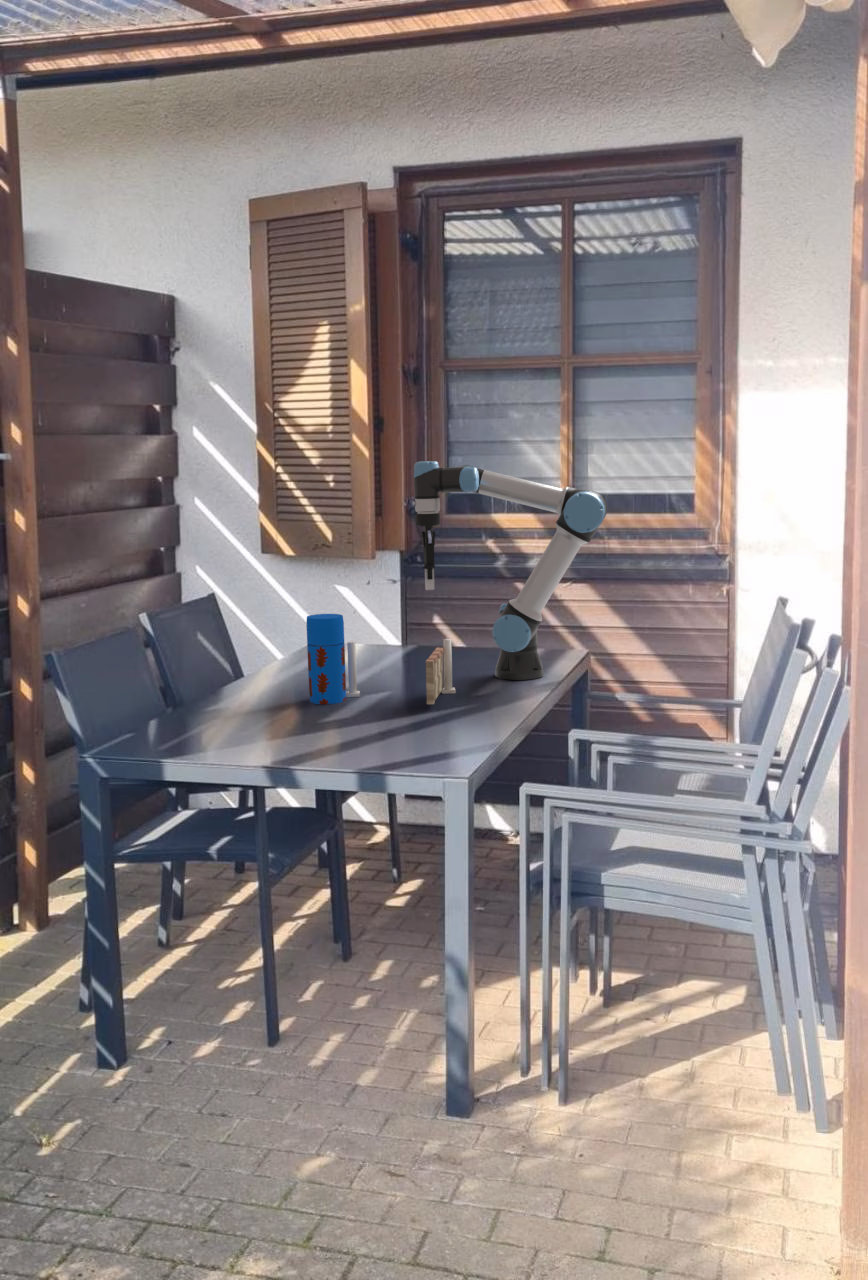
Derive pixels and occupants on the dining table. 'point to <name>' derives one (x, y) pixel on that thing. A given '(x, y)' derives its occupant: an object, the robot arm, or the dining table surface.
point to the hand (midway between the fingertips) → (429, 589)
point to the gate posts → (353, 676)
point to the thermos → (326, 658)
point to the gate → (434, 675)
